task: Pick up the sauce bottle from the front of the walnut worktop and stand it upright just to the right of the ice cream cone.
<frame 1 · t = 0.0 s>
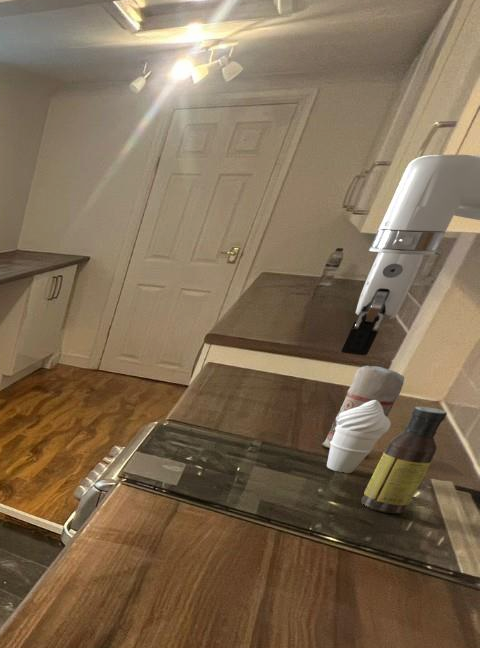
hand: (355, 349, 100), 30 cm above the worktop, tool pointing down, fingers open, 9 cm apart
sauce bottle: (379, 508, 112), on the worktop
ice cream cone: (338, 469, 128), on the worktop
spray can: (343, 450, 138), on the worktop
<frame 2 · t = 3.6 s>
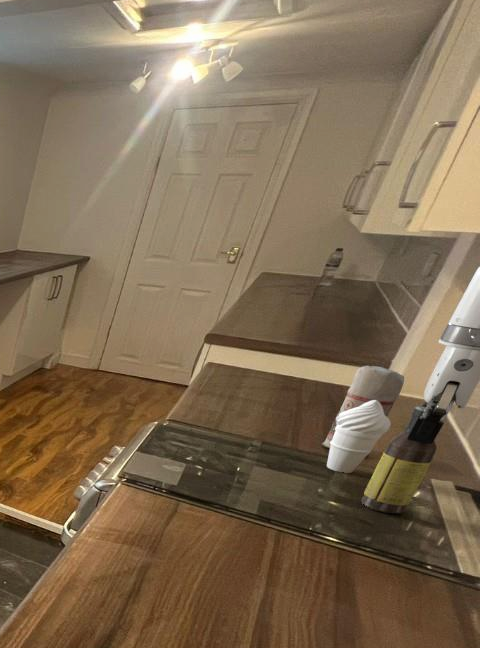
hand: (419, 436, 105), 15 cm above the worktop, tool pointing down, fingers closed on sauce bottle, 4 cm apart
sauce bottle: (379, 508, 112), on the worktop, touching gripper
everything else where it was.
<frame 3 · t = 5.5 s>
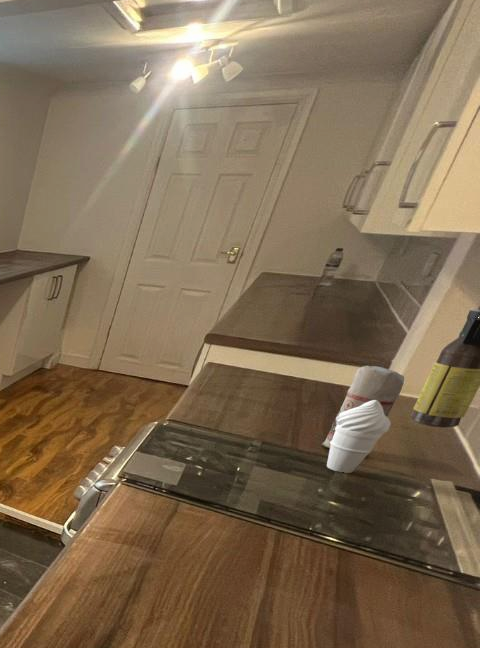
hand: (475, 341, 98), 32 cm above the worktop, tool pointing down, fingers closed on sauce bottle, 4 cm apart
sauce bottle: (430, 424, 105), point 17 cm above the worktop, touching gripper
everything else where it was.
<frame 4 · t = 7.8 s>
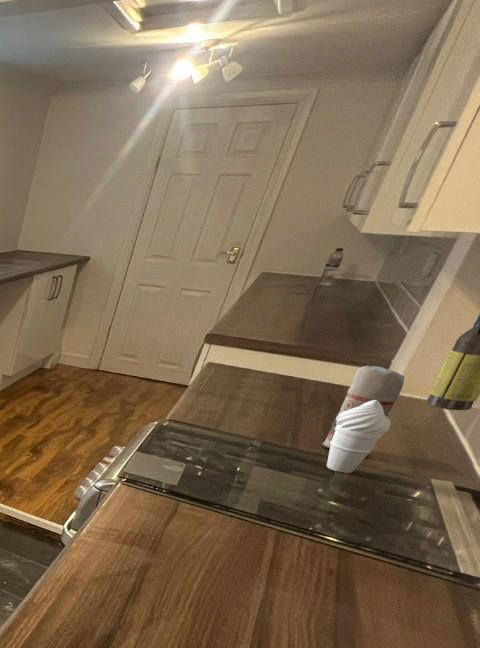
sauce bottle: (445, 407, 114), point 17 cm above the worktop, touching gripper
everything else where it was.
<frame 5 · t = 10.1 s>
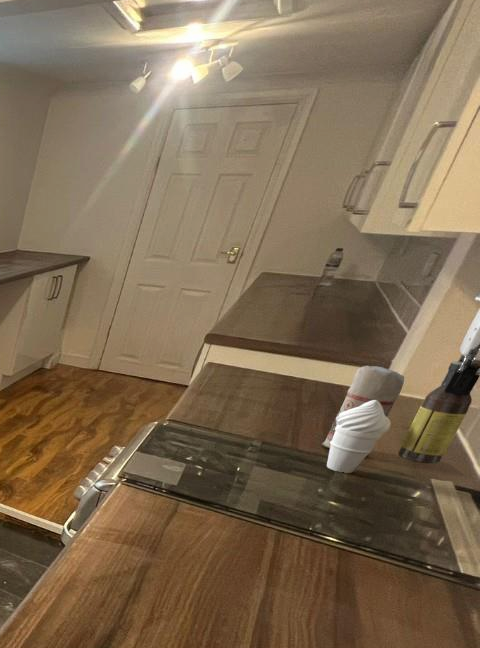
hand: (455, 390, 112), 21 cm above the worktop, tool pointing down, fingers closed on sauce bottle, 4 cm apart
sauce bottle: (415, 459, 119), point 6 cm above the worktop, touching gripper
everything else where it was.
when the fingers open (15 cm above the worktop, at t = 11.9 s): sauce bottle stays where it is, on the worktop.
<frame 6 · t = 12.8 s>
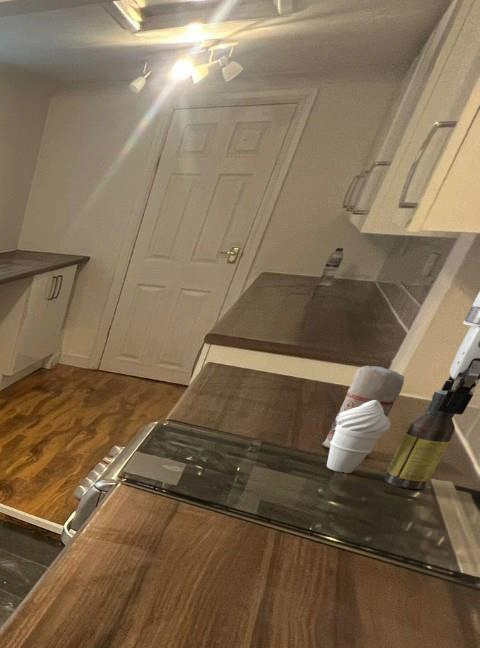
hand: (448, 406, 114), 17 cm above the worktop, tool pointing down, fingers open, 9 cm apart
sauce bottle: (401, 484, 122), on the worktop
everything else where it was.
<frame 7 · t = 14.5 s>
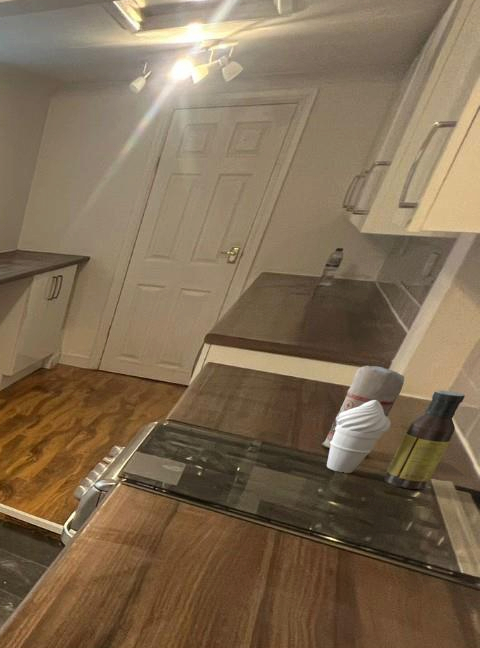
nothing on the worktop moved.
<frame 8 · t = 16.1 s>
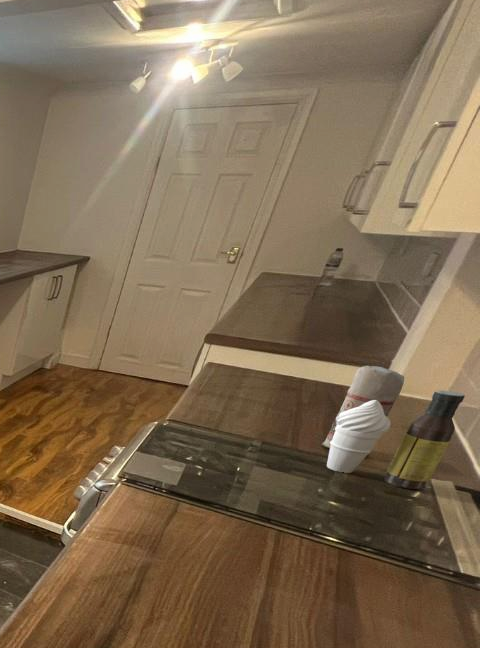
nothing on the worktop moved.
at the end: sauce bottle inside the target area on the worktop beside the ice cream cone (0.4 cm from its centre), on the worktop; sauce bottle tilted 0°; ice cream cone moved 0.2 cm from its start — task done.
